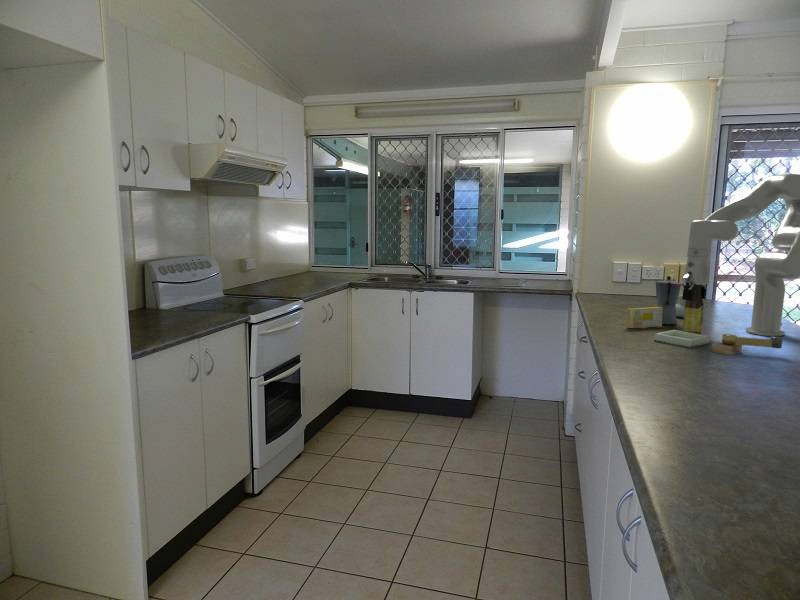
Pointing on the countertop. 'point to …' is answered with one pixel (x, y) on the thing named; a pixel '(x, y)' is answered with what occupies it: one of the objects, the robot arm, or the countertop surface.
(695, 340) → the tray
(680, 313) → the air freshener
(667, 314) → the moka pot
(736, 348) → the orange brown block
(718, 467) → the countertop surface
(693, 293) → the sauce bottle
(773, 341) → the lever
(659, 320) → the candy box
